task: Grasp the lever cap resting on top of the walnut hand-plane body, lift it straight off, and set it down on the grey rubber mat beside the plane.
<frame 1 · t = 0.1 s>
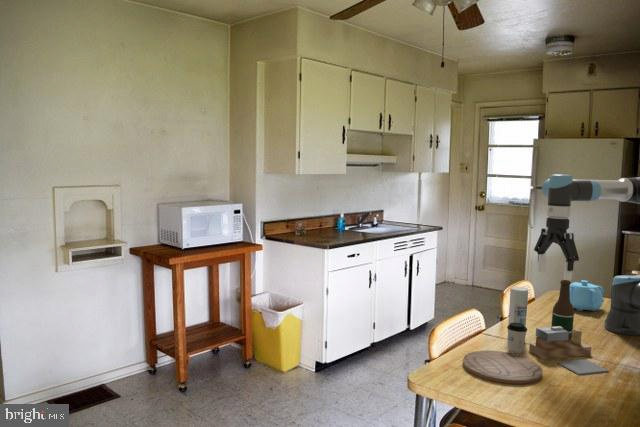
hand: (553, 275, 187), 28 cm above the table, tool pointing down, fingers open, 13 cm apart
coffee cup: (515, 351, 188), on the table
lever cap: (551, 337, 185), point 6 cm above the table, touching plane body
mat: (582, 367, 174), on the table
trivet: (501, 370, 171), on the table
beer bottle: (561, 341, 200), on the table
plane body: (559, 353, 187), on the table
decorative pot: (582, 308, 247), on the table
spray can: (516, 338, 202), on the table
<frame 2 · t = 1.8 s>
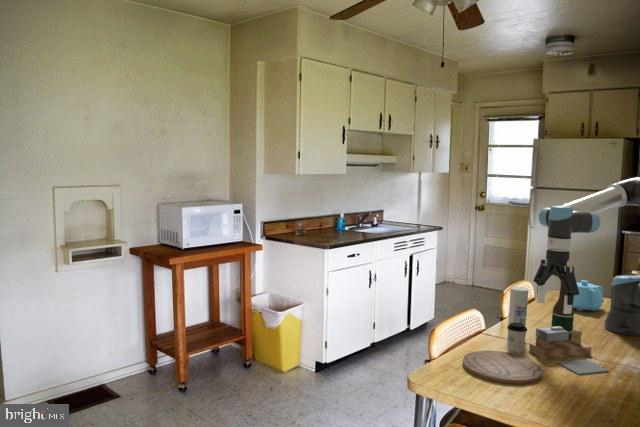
hand: (553, 308, 184), 17 cm above the table, tool pointing down, fingers open, 13 cm apart
nothing on the table moved.
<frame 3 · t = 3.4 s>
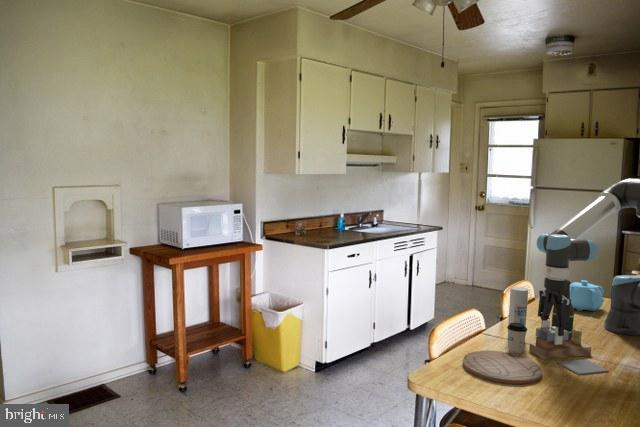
hand: (551, 340, 185), 5 cm above the table, tool pointing down, fingers closed on lever cap, 6 cm apart
lever cap: (551, 337, 185), point 6 cm above the table, touching gripper, plane body
everything else where it was.
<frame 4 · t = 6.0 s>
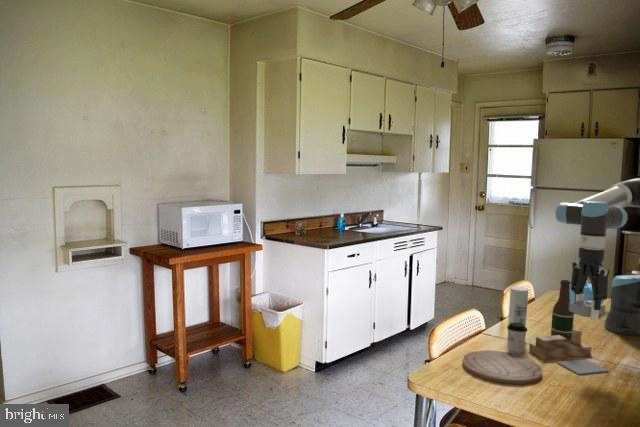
hand: (586, 315, 172), 18 cm above the table, tool pointing down, fingers closed on lever cap, 6 cm apart
lever cap: (586, 312, 172), point 19 cm above the table, touching gripper
everything else where it was.
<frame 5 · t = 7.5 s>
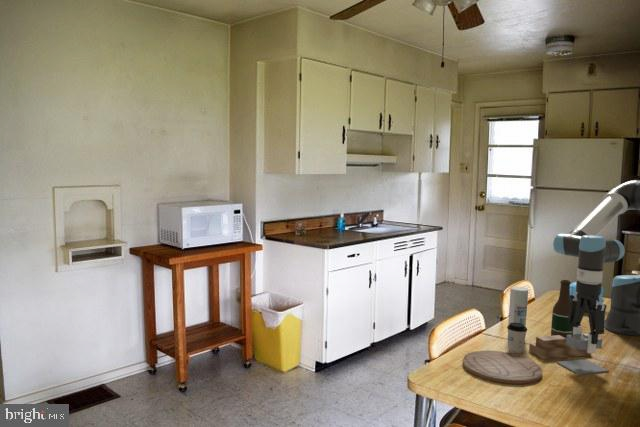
hand: (583, 348, 173), 7 cm above the table, tool pointing down, fingers closed on lever cap, 6 cm apart
lever cap: (583, 345, 173), point 8 cm above the table, touching gripper
everything else where it was.
when the fingers open (1 cm above the table, at t = 8.7 s): lever cap drops 2 cm, resting on mat.
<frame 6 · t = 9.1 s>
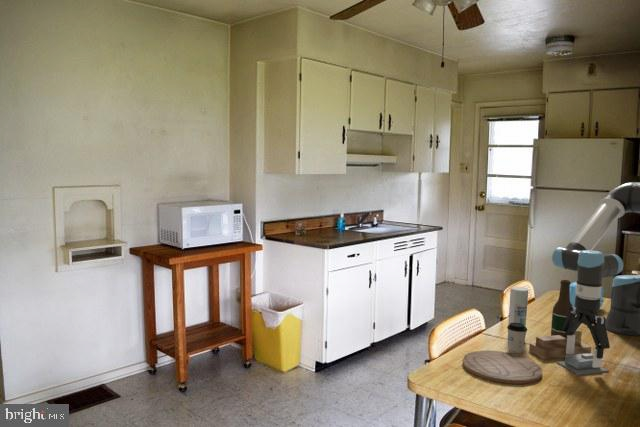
hand: (582, 360, 174), 3 cm above the table, tool pointing down, fingers open, 11 cm apart
lever cap: (582, 366, 174), resting on mat
everything else where it was.
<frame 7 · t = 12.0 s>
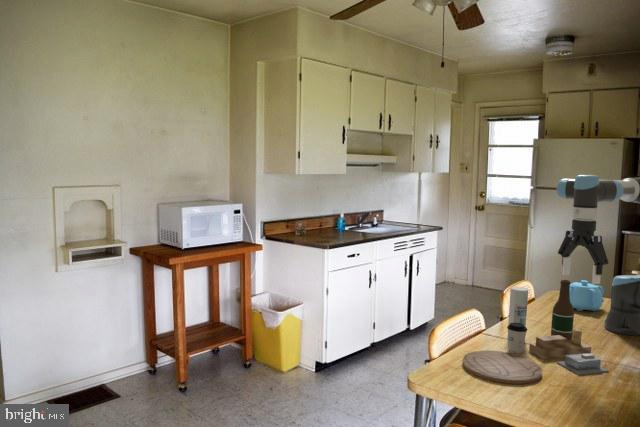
hand: (580, 279, 181), 28 cm above the table, tool pointing down, fingers open, 13 cm apart
nothing on the table moved.
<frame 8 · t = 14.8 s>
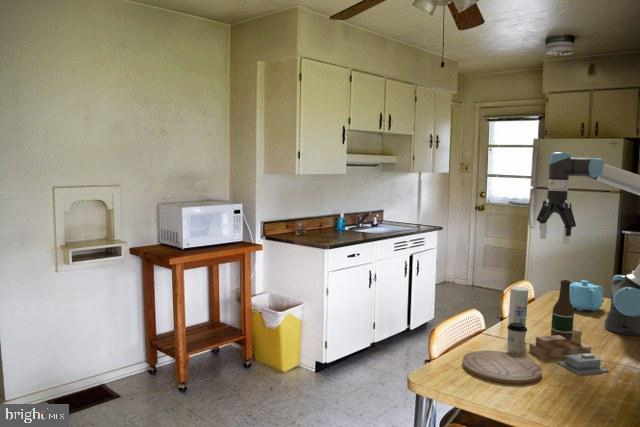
hand: (554, 241, 213), 37 cm above the table, tool pointing down, fingers open, 13 cm apart
nothing on the table moved.
at the end: lever cap inside the target area on the mat (0.0 cm from its centre), point 0.5 cm above the mat's base; lever cap touching mat; the gripper is holding nothing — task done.
